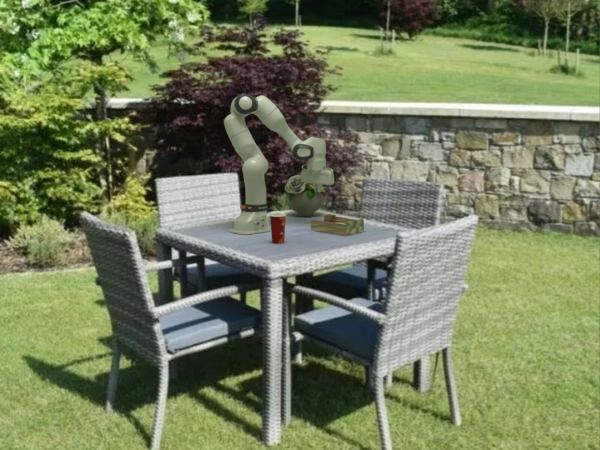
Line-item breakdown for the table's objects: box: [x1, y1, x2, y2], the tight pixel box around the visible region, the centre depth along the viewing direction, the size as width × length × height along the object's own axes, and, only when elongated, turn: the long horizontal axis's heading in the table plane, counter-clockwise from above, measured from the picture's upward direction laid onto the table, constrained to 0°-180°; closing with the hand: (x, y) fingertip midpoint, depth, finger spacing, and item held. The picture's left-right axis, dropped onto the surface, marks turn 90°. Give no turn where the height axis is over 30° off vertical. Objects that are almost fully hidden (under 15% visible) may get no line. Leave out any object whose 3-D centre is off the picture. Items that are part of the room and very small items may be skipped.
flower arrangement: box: [284, 174, 326, 217], centre depth 447 cm, size 25×25×24 cm
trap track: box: [310, 216, 365, 237], centre depth 401 cm, size 16×23×7 cm
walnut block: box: [323, 213, 337, 223], centre depth 408 cm, size 4×4×4 cm
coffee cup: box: [269, 210, 287, 245], centre depth 373 cm, size 8×8×15 cm
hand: (317, 192), depth 411 cm, fingers closed
